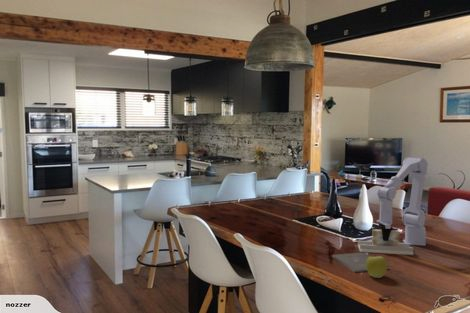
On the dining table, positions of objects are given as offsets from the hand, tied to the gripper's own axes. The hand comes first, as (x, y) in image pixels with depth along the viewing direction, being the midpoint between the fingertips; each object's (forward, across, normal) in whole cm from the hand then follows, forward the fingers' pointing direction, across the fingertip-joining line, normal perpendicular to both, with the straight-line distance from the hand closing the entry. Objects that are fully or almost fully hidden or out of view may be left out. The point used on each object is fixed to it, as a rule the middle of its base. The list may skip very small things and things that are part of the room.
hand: (385, 239), depth 198 cm
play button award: (+6, +21, -14) cm, 26 cm away
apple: (+5, +36, -9) cm, 37 cm away
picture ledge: (+5, 0, 0) cm, 5 cm away
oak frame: (+3, 0, 0) cm, 4 cm away
